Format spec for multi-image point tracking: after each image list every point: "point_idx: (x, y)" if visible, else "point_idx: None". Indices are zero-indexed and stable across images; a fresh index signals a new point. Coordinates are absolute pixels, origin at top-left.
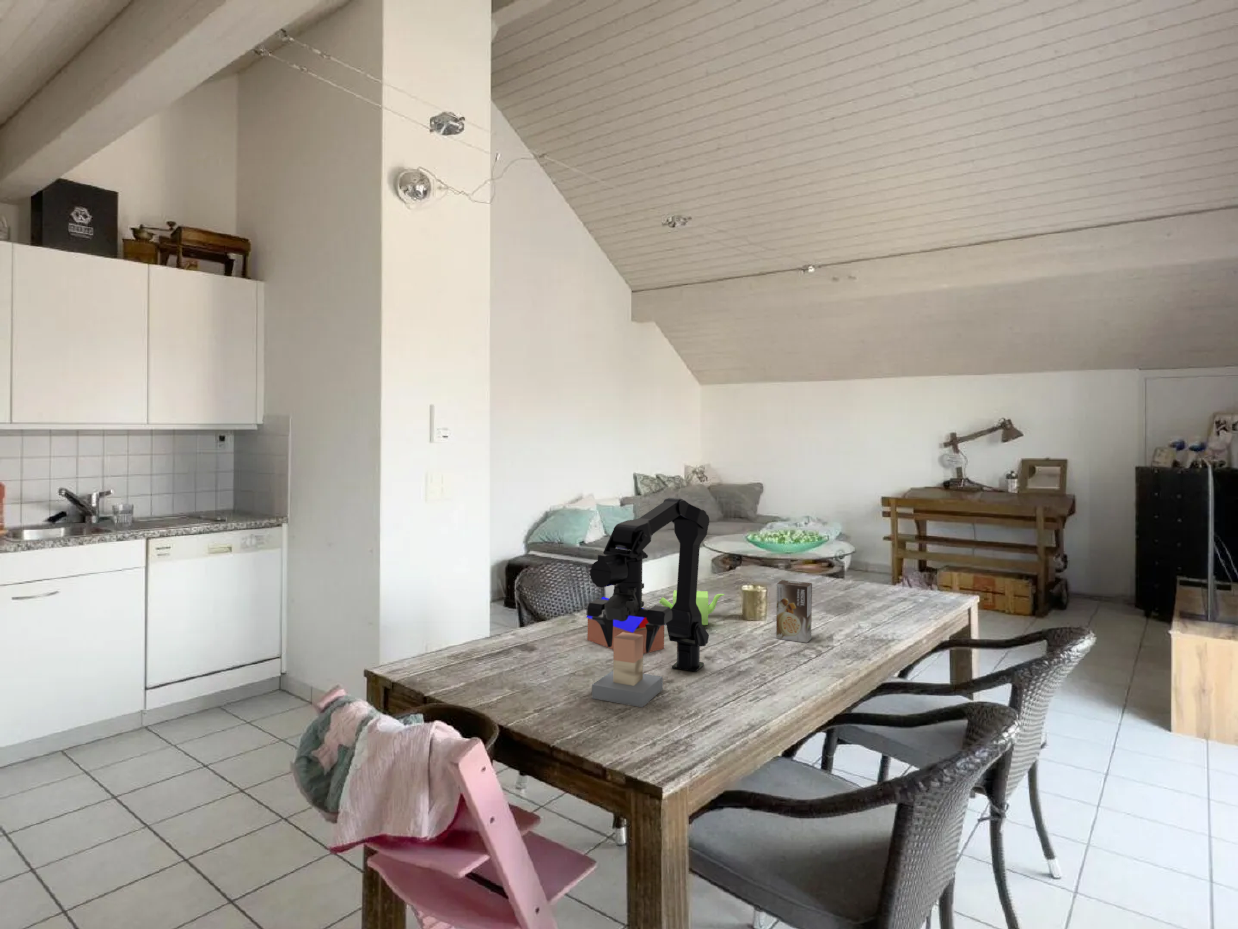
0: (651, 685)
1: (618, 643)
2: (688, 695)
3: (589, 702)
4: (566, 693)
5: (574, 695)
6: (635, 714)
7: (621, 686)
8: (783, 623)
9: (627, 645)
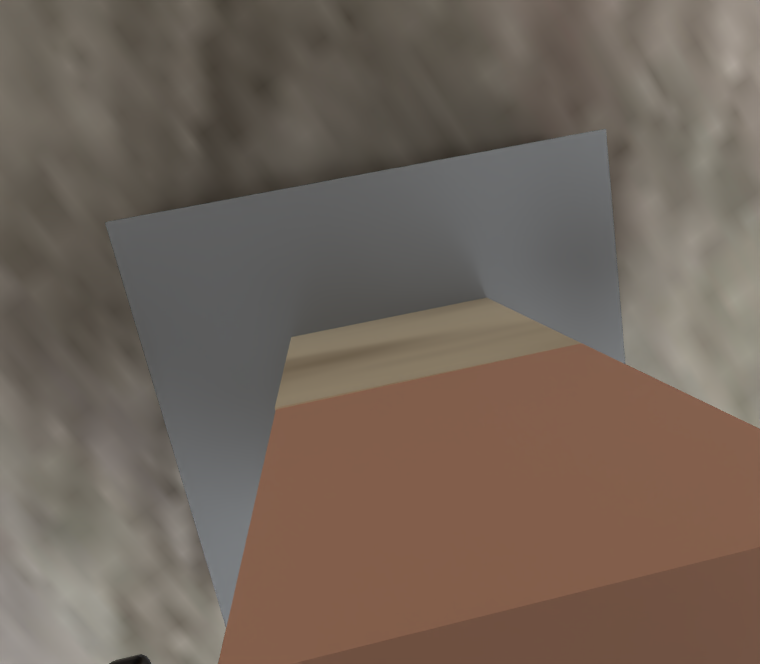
0: (172, 436)
1: (662, 467)
2: (41, 607)
3: (524, 64)
4: (755, 116)
5: (687, 118)
6: (97, 65)
7: (369, 255)
8: None
9: (426, 518)
